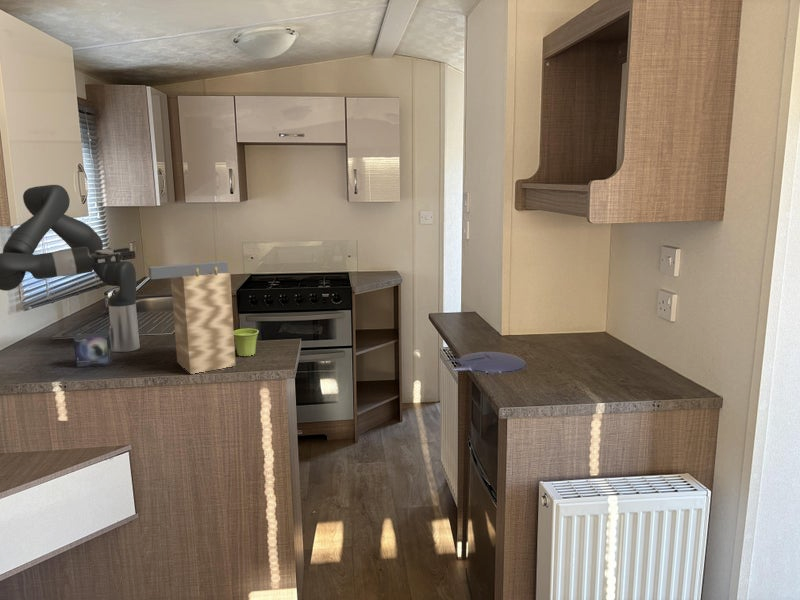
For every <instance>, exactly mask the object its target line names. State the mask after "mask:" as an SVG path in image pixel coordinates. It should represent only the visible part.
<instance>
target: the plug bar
mask: <svg viewBox="0 0 800 600" xmlns="http://www.w3.org/2000/svg"><path fill="white" fill-rule="evenodd" d="M214 267H217V273H218V274H220V273H229V272H228V271H229V269H228V262H227V261H225V260H223V261H221V260H220V261H209V262H197V263H184V264H171V265H155V266H148V278H149V279H150V280H160V279H171V278H174V277H185V276H196V268H198V269H199V275H208V274H215V271H214Z"/></svg>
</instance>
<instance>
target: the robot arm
mask: <svg viewBox="0 0 800 600" xmlns="http://www.w3.org/2000/svg"><path fill="white" fill-rule="evenodd" d="M22 200H23V203H24V206H25V208H26V209H27V210H28V211H29V214H31V215H32V216H31V217H30V218H28V219H27V220H26V221H25V222H23V223H21V224H19V226H18V227H17V228H15V230H14V231H12V233H11V234H10V236H9V238H8V239H7V241H6V242H5V244H4V245H3V249H2V252H1V253H0V290H1V291H12V290H14V289H16V288H17V287H19V286H20V285H21V283H22V282H23V280H24V278H25V276H26V272H27V273H30V274H31V276H32V277H33V278H34V279H36V280H43V279H52V278H56V277H69V276H75V275H76V276H77V275H81V274H87V273H91V272H94V273H95V274H96V276H97V277H98V279H99V280H100V281H101V282H102V283H104V284H105V285H107V286H110V287H119V291H118V292H117V293H116V294H114V295H111V296H109V297H108V298H107V300H108V302H107V303H108V311H109V312H108V313H109V321H110V322H109V324H110V325H109V332H110V343H111V353H112V352H116V353H125V352H133V351H137V350H138V349H140V347H141V346H140V337H139V325H138V315H137V304H136V303H137V300H136V299H137V273H136V271H137V270H136V268H135V266H134V264H133V263H132V262H131V261H126V260H133V259H136V252H135V251H134V250H130V248H129V247H122V248H105V249H104V245H103V239H102V238H101V236H100V235H99V234H98V233H97V232H96V231H95V230H94V229H93V227H91V226H90V225H88V224H87V223H85V222H84V221H81V220H79V219H77V218H74V217H71V216H69V215H67V214H66V213H67V211H68V209H69V208H70V196H69V193H68V191H67V190H66V189H65V188H64V187H63V186H62V185H59V184H47V185H39V186H33V187H29V188H27V189H26V190H25V191H24V193H23V194H22ZM49 231H53V232H54V233H55V234H56V235H57V236H58V237H59V238H60V239H62V241H64V242H65V244H67V246H69V248H64V249H59V250H55V251H52V252H45V253H38V254H34V253H35V251H36V249H37V248H38V245H39V244H40V242H41V241H42V239H43V238H44V237H45V236H46V235H47V234H48V232H49Z"/></svg>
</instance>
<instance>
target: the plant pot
mask: <svg viewBox="0 0 800 600" xmlns="http://www.w3.org/2000/svg"><path fill="white" fill-rule="evenodd" d="M258 334H259V330H258V329H255V328H239V329H236V330H234V344H235V348H236V353H237V356H238V355H239V356H238V357H240V356H247V357H252V356H251V355H253V356H255V355H256V350H257V349H256V347H257V338H258ZM254 354H255V355H254Z"/></svg>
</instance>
